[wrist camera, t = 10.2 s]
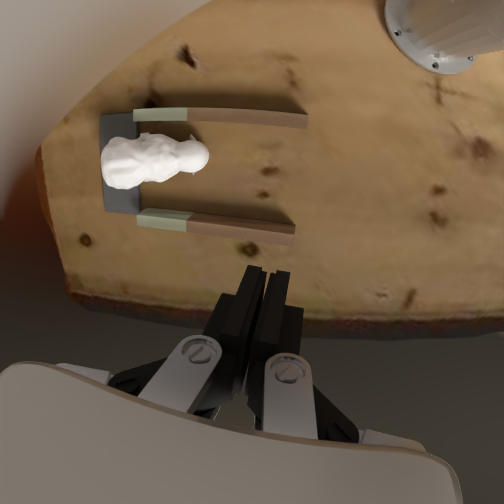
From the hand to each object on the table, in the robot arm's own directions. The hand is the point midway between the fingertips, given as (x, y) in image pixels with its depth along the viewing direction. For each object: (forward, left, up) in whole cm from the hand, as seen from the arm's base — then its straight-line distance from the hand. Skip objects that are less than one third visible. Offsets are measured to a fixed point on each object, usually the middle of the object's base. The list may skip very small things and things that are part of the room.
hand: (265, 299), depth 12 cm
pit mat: (+1, -23, -26) cm, 34 cm away
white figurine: (-1, -16, -26) cm, 30 cm away
